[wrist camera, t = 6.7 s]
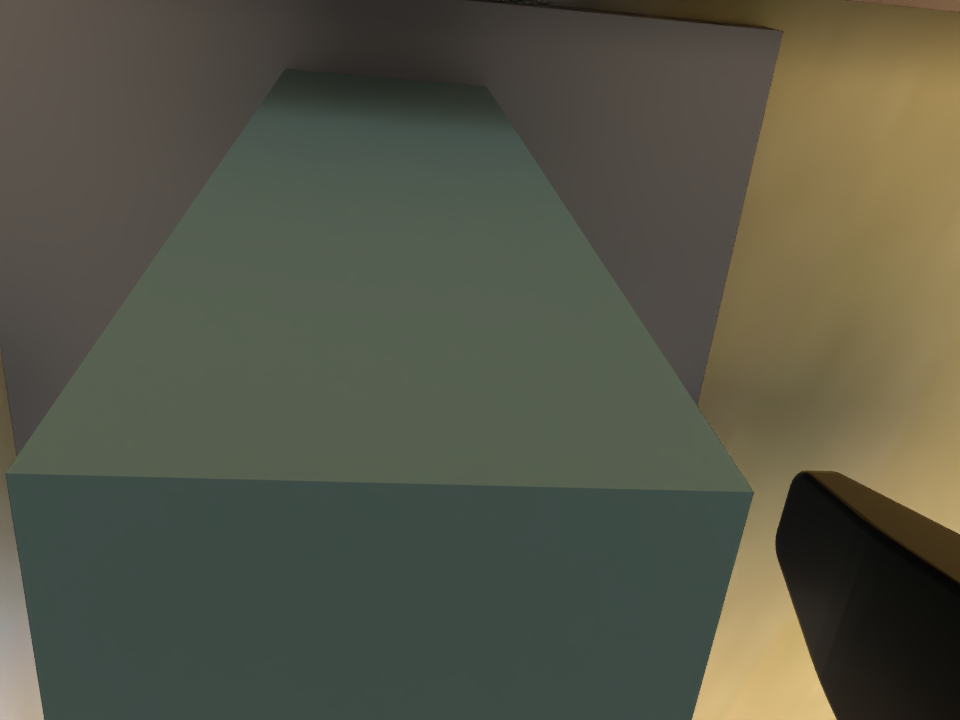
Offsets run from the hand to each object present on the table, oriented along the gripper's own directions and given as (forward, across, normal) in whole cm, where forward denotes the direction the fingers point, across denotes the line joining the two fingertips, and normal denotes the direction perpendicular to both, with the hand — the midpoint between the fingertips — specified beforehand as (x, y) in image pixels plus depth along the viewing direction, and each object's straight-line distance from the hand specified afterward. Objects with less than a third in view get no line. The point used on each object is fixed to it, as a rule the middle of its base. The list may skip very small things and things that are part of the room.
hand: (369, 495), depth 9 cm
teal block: (+4, 0, 0) cm, 4 cm away
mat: (+5, 0, 0) cm, 5 cm away
